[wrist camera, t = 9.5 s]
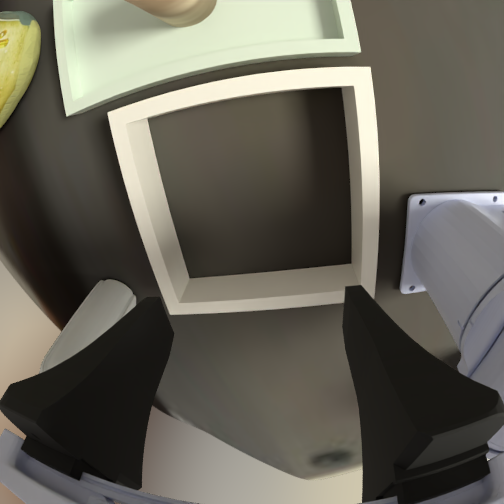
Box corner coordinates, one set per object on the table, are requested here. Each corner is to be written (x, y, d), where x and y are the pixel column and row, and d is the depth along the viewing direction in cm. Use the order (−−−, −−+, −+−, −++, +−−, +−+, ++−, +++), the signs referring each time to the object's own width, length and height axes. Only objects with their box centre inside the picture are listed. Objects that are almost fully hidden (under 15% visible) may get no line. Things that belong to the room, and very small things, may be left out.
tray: (320, -69, 9) (324, -81, 7) (352, 56, 14) (361, 52, 12) (67, 0, 11) (53, -4, 10) (81, 113, 16) (66, 116, 15)
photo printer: (129, 356, 28) (87, 454, 17) (94, 340, 28) (45, 431, 17) (144, 290, 23) (76, 414, 12) (100, 269, 23) (18, 379, 12)
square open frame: (355, 71, 14) (370, 67, 11) (364, 273, 21) (374, 298, 18) (131, 108, 16) (107, 112, 14) (181, 289, 23) (170, 314, 20)
